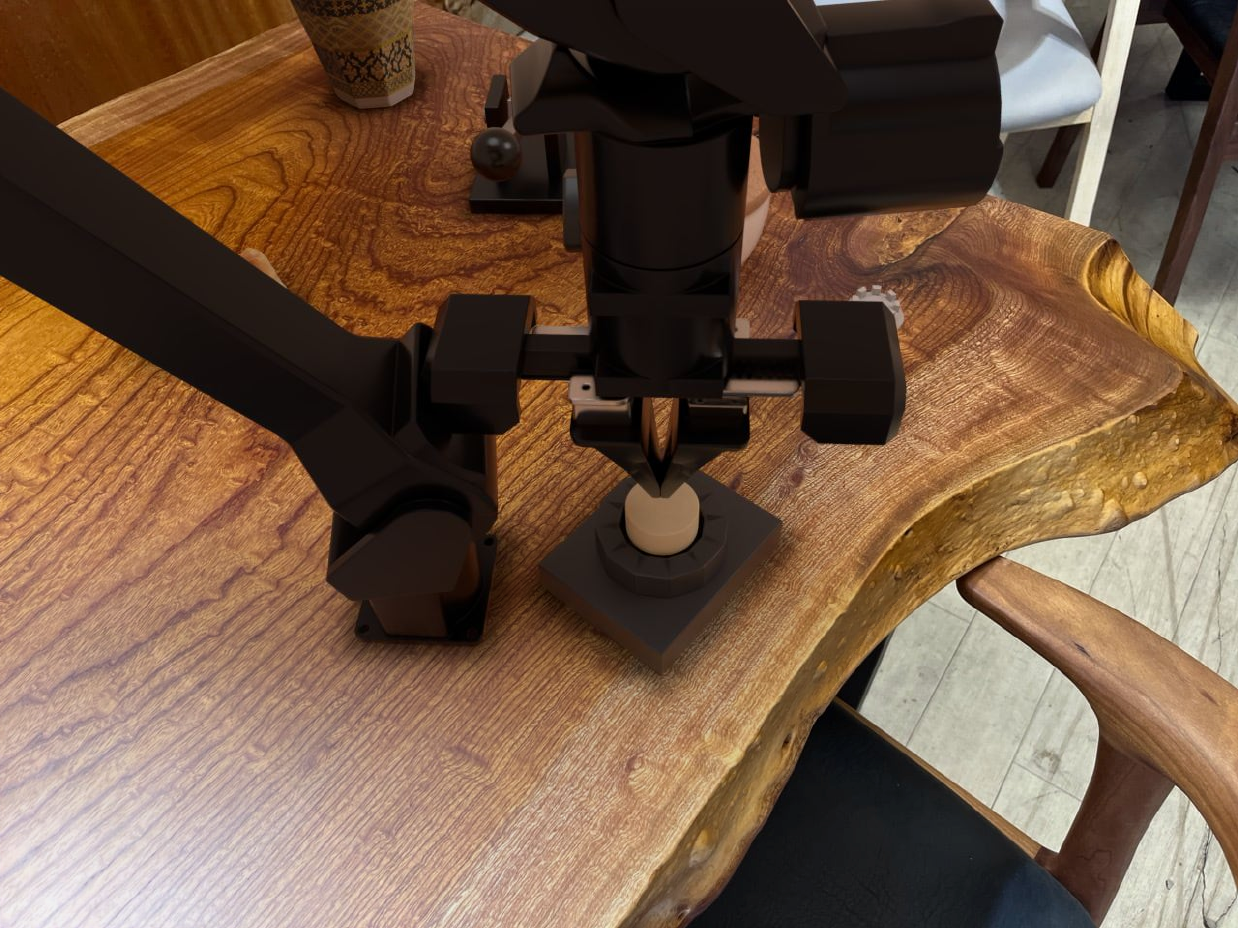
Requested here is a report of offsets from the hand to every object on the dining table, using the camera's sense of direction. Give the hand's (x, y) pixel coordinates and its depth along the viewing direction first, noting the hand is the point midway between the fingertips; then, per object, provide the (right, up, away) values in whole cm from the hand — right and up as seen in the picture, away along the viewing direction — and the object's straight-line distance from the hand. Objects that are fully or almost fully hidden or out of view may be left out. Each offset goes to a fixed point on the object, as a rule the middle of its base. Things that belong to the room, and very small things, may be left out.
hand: (660, 490), depth 46 cm
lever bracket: (-9, +23, +28) cm, 37 cm away
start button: (0, -2, +2) cm, 3 cm away
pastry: (-28, +11, +18) cm, 35 cm away
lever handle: (-9, +22, +19) cm, 31 cm away
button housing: (0, -4, +5) cm, 7 cm away
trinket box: (+3, +15, +21) cm, 26 cm away
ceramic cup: (-24, +34, +37) cm, 55 cm away
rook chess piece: (+12, +5, +12) cm, 18 cm away
